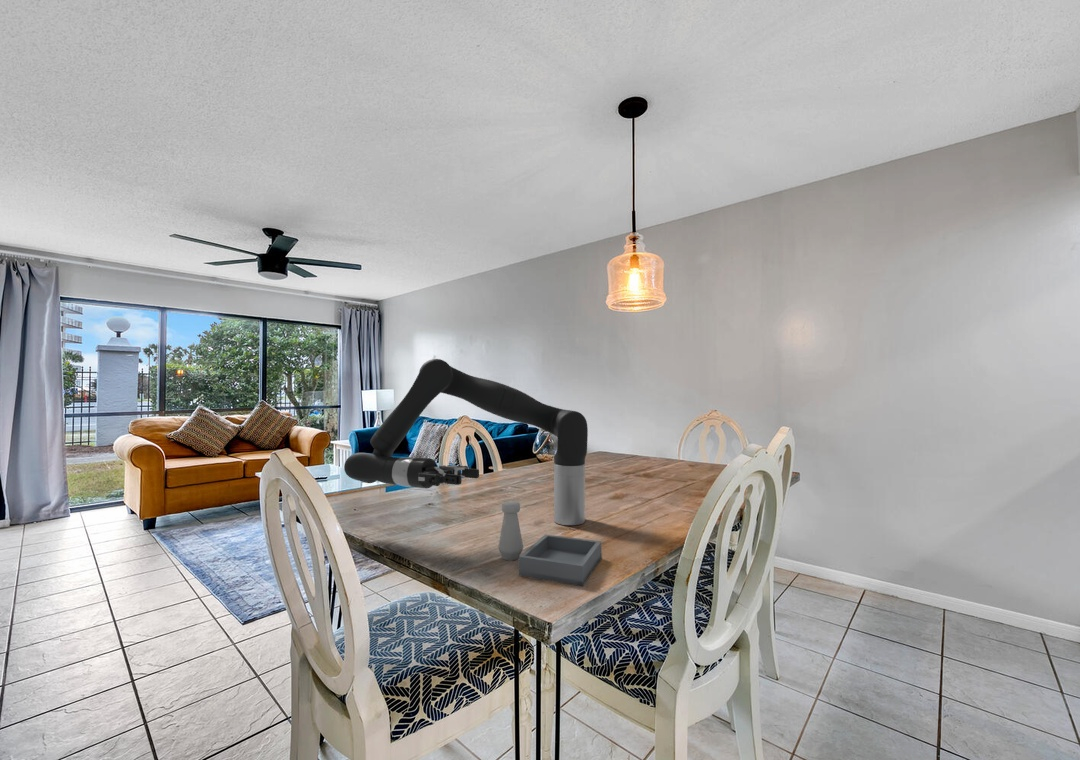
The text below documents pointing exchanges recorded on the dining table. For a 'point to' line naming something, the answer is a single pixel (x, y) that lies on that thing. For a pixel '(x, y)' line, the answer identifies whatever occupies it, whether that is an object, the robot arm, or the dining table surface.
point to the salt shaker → (510, 532)
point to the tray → (560, 559)
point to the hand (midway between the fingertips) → (470, 476)
